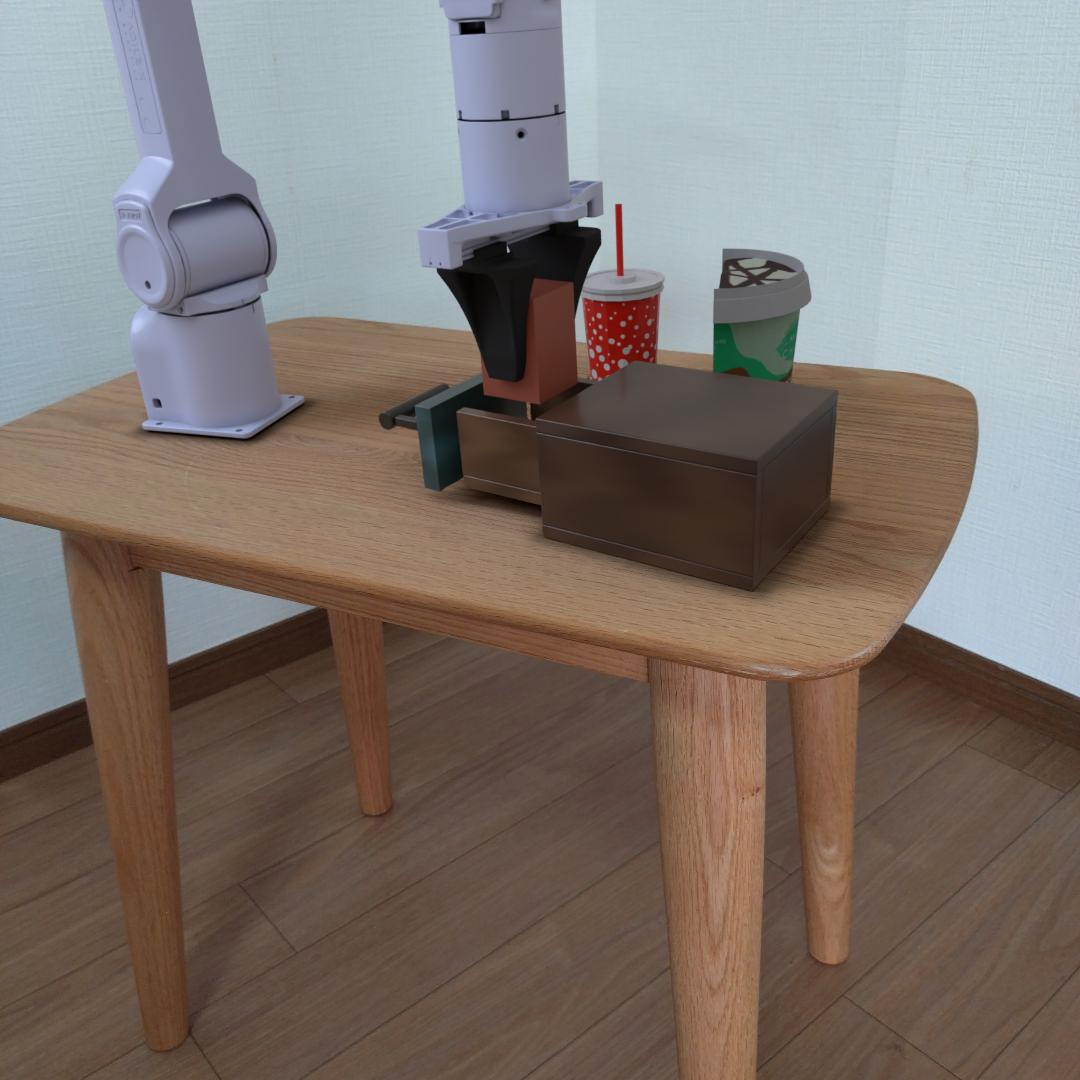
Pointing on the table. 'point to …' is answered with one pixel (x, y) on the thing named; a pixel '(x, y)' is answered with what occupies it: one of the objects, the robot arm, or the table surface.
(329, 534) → the table surface
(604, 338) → the beverage cup
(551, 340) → the block
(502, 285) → the robot arm
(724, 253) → the food container
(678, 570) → the cabinet
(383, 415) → the drawer
